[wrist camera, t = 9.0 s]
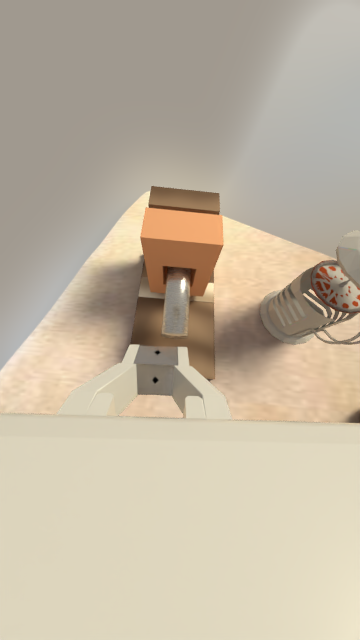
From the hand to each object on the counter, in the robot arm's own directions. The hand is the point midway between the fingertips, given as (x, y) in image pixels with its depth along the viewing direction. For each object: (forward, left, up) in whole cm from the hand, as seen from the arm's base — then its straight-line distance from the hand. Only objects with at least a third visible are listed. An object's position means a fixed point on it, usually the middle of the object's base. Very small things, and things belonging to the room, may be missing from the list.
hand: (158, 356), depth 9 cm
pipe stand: (+10, -1, -16) cm, 19 cm away
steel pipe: (+11, -1, -11) cm, 16 cm away
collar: (+14, -1, -14) cm, 20 cm away
